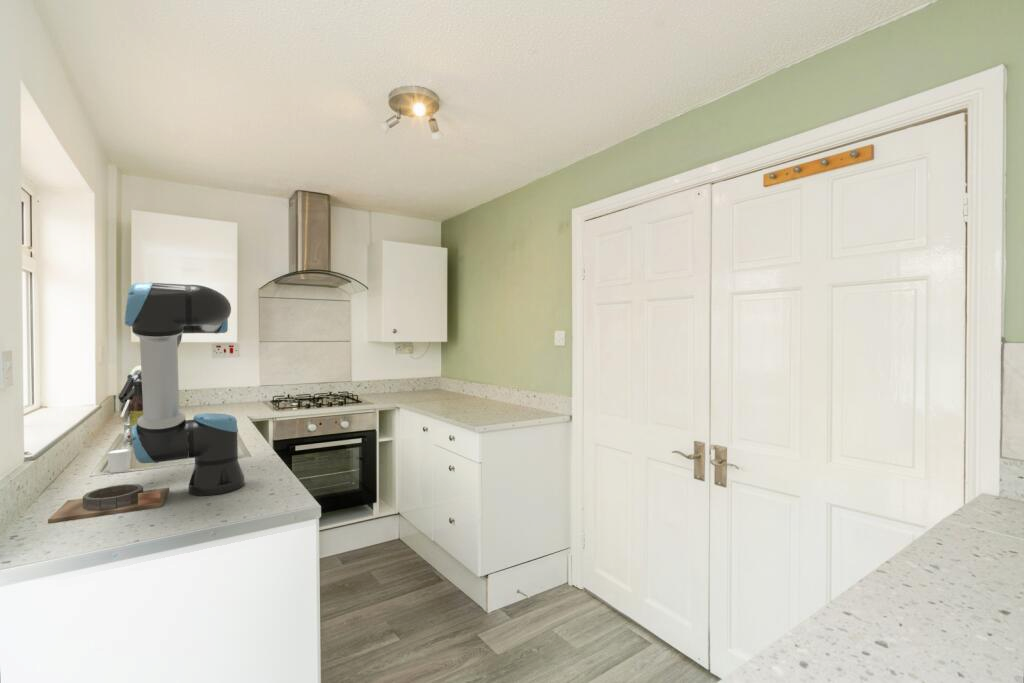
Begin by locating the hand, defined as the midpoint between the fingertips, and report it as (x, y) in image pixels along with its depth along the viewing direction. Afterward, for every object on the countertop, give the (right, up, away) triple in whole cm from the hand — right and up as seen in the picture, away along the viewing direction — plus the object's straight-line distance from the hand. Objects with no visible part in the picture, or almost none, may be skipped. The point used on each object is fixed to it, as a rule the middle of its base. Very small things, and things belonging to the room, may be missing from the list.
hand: (136, 418), depth 152 cm
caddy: (+3, -23, -13) cm, 26 cm away
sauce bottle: (-1, -9, +4) cm, 9 cm away
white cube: (-23, -22, +22) cm, 39 cm away
